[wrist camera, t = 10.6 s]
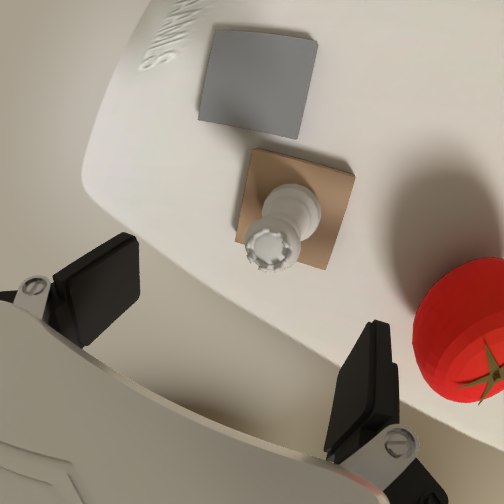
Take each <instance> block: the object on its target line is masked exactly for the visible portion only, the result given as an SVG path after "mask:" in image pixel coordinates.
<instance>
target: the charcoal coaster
mask: <svg viewBox="0 0 504 504" xmlns="http://www.w3.org/2000/svg"><path fill="white" fill-rule="evenodd" d="M317 48H318V43H317V41H314V40H309V39H303V38H297V37H291V36H284V35H277V34H269V33H260V32H249V31H234V30H216V31H215V35H214V39H213V44H212V48H211V53H210V58H209V62H208V67H207V72H206V77H205V82H204V88H203V93H202V98H201V104H200V110H199V116H198V120H200V121H207V122H213V123H219V124H225V125H230V126H236V127H241V128H246V129H251V130H256V131H260V132H265V133H269V134H274V135H278V136H282V137H286V138H291V139H297V138H298V134H299V130H300V125H301V121H302V117H303V112H304V108H305V103H306V99H307V94H308V90H309V85H310V81H311V76H312V71H313V67H314V62H315V57H316V53H317Z"/></svg>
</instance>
